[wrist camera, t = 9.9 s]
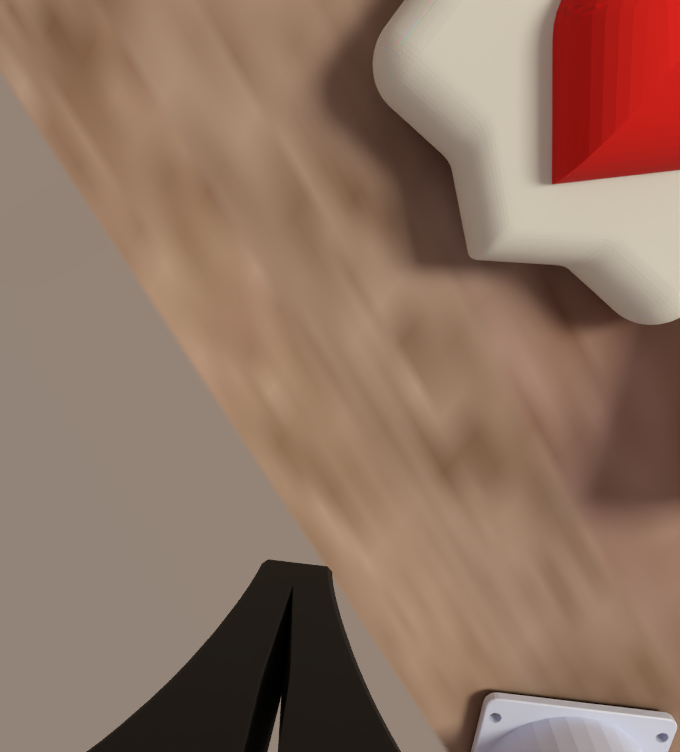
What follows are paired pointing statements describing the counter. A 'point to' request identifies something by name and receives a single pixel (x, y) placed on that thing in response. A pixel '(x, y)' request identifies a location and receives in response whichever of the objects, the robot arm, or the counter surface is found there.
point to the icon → (553, 133)
